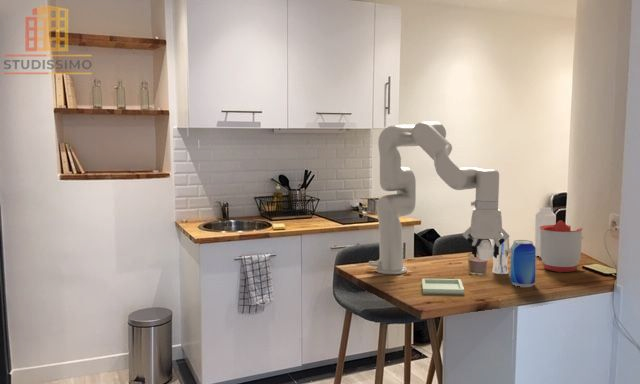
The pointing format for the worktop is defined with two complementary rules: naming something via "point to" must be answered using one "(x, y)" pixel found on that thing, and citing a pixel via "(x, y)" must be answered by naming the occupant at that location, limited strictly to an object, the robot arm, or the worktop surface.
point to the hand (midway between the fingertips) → (485, 256)
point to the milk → (543, 219)
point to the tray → (442, 286)
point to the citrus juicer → (560, 247)
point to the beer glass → (501, 257)
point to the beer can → (523, 263)
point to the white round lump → (485, 250)
